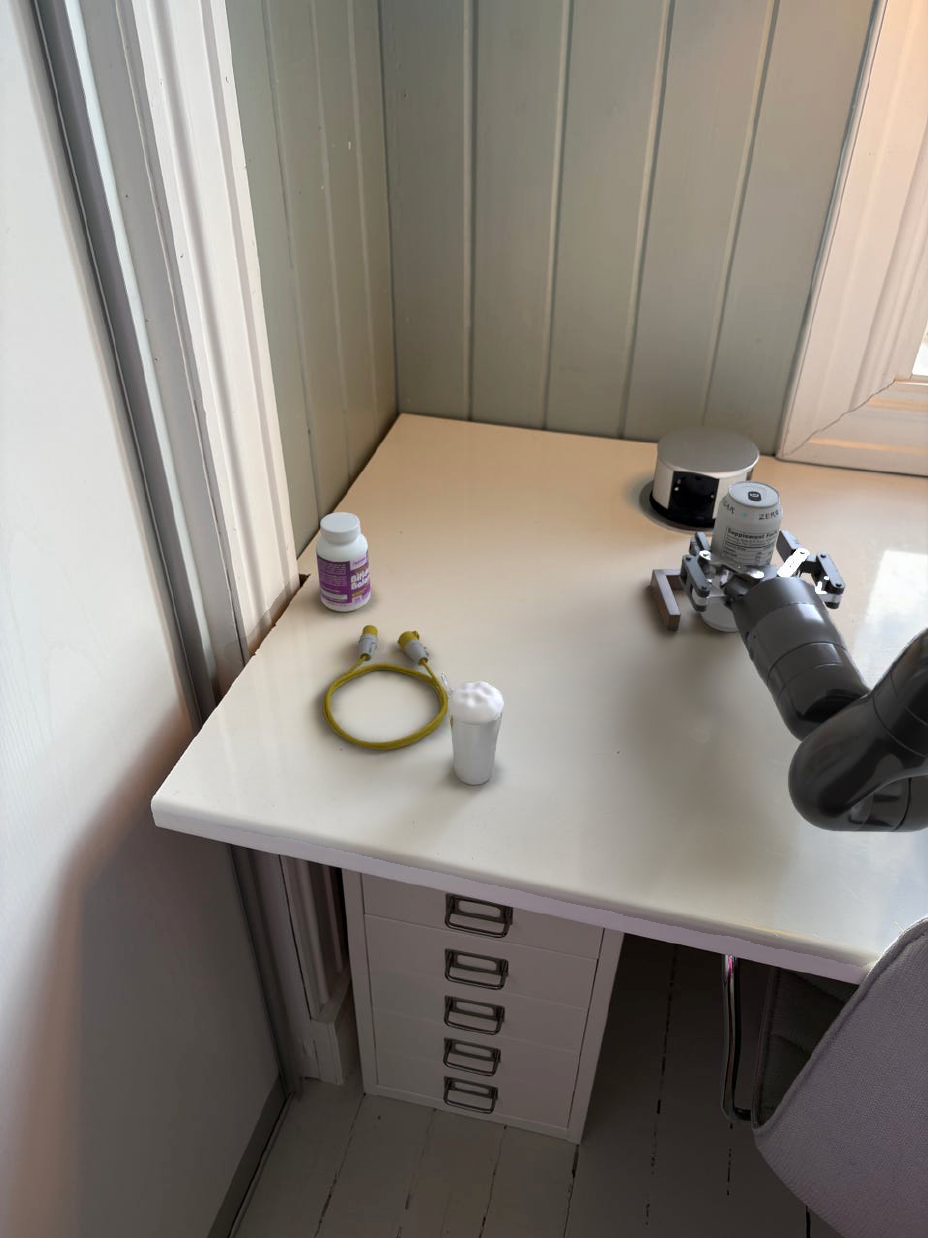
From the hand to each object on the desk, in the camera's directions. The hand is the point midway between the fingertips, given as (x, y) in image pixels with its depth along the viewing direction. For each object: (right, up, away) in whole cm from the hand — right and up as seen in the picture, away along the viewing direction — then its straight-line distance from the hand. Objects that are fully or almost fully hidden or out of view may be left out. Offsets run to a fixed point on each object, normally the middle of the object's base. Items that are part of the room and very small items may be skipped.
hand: (738, 538), depth 93 cm
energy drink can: (0, -8, +5) cm, 9 cm away
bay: (0, -7, +6) cm, 9 cm away
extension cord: (-35, -15, -5) cm, 38 cm away
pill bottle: (-40, -6, +7) cm, 41 cm away
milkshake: (-27, -21, -13) cm, 37 cm away
